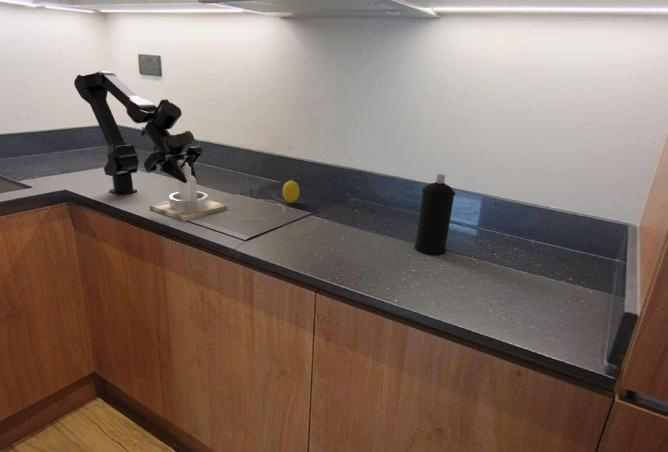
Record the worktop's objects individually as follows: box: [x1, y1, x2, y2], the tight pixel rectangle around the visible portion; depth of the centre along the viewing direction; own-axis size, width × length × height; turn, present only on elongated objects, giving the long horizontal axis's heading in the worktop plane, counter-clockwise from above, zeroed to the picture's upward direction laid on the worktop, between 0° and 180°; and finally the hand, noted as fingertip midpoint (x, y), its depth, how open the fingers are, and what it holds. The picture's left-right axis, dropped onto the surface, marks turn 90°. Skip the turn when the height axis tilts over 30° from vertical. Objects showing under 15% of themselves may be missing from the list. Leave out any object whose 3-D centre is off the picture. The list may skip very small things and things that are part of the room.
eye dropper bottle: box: [178, 163, 198, 200], centre depth 128 cm, size 4×6×12 cm
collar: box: [168, 190, 209, 211], centre depth 129 cm, size 11×11×3 cm
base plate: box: [149, 199, 228, 222], centre depth 130 cm, size 16×16×1 cm
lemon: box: [282, 179, 300, 204], centre depth 141 cm, size 6×6×8 cm
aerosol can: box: [414, 173, 456, 256], centre depth 108 cm, size 8×8×20 cm
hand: (190, 181), depth 127 cm, fingers closed on eye dropper bottle, 3 cm apart
